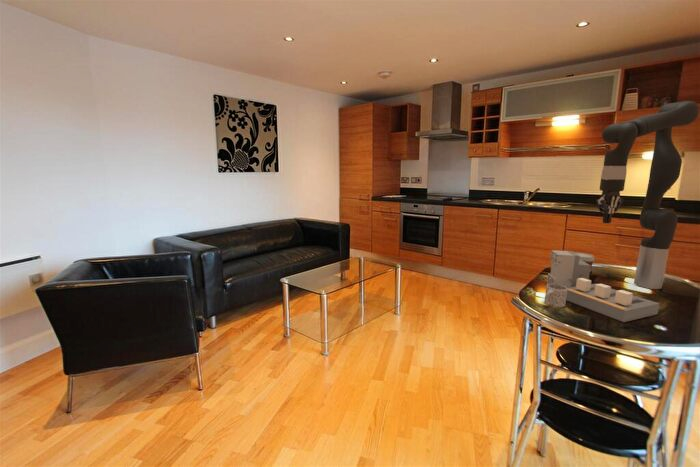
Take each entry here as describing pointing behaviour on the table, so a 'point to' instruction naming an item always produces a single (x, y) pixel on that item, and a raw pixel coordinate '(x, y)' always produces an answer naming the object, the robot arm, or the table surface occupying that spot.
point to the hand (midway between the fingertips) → (606, 223)
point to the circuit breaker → (567, 268)
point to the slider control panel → (613, 304)
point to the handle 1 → (583, 284)
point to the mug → (555, 295)
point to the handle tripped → (602, 290)
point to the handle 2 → (623, 297)
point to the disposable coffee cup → (586, 258)
